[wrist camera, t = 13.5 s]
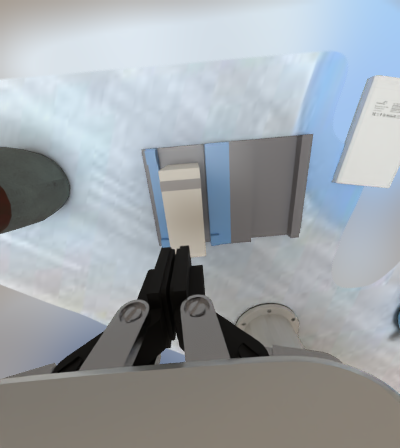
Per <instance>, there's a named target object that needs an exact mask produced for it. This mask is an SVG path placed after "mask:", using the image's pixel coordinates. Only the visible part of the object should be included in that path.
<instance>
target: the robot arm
mask: <svg viewBox="0 0 400 448" xmlns="http://www.w3.org/2000/svg"><path fill="white" fill-rule="evenodd" d="M298 330H299V322H298V319H297V317H296V316H295V314H294V313H293V311H291V310H290V309H289V308H287V307H285V306H282V305H277V304H265V305H260V306H257V307H254V308H252V309H250V310H248V311H247V312H245V313H244V314H243V315H242V316H241V317H240V318H239V320H238V321H237V323H236V326H235V325H234V324H232V323H231V322H229V321H228V320H226V319H225V318H223V317H222V316H220V315H219V314H217V313H216V312H215V309H214V306H213V303H212V301H211V299H209V298H208V297H207V296H205V287H204V275H203V265H197V266H192V265H191V257H190V248H189V245H187V246H180V248H179V249H177V251H176V254H175V249H172V248H171V247H164V248H162V249H161V252H160V254H159V257H158V260H157V263H156V266H155V269H151V270H149V271H148V273H147V275H146V278H145V281H144V283H143V286H142V288H141V291H140V293H139V296H138V299H137V300H133V301H130V302H128V303H126V304H124V305H123V306H122V307H121V308H120V309H119V310H118V311H117V313H116V314H115V316H114V317H113V319H112V320H111V322H110V323H109V325H108V326H107V328H106V329H105V331H104V332H102V333H101V334H99V335H98V336H96V337H95V338H93V339H92V340H90V341H89V342H87V343H86V344H85V345H83V346H82V347H80V348H79V349H77V350H76V351H74V352H73V353H72V354H70V355H69V356H67V357H66V358H65V359H64V360H62V361H61V362H60V363H59V364H58V365H57V366H56V364H55V363H53V364H49V365H46V366H43V367H39V368H36V369H33V370H29V371H26V372H23V373H19V374H16V375H13V376H9V377H6V378H3V379H0V448H400V394H399V393H398V392H396V391H395V390H394V389H393V388H391V387H390V386H389V385H387V384H386V383H385V382H383V381H381V380H380V379H378V378H376V377H375V376H373V375H371V374H369V373H366V372H364V371H362V370H360V369H357V368H354V367H352V366H349V365H346V364H343V363H342V362H341V361H340V360H339V359H337V358H336V357H334V356H332V355H331V354H328V353H324V352H319V351H312V350H305V348H304V346H303V345H302V343H301V341H300V339H299V337H298V336H297V333H298ZM176 333H177V338H178V340H179V346H180V348H181V349H182V350H183V351H184V352H185V360H186V362H181V363H169V364H159V363H160V359H161V352H162V351H164V350H165V349H166V348H171V340H175V336H176Z"/></svg>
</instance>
